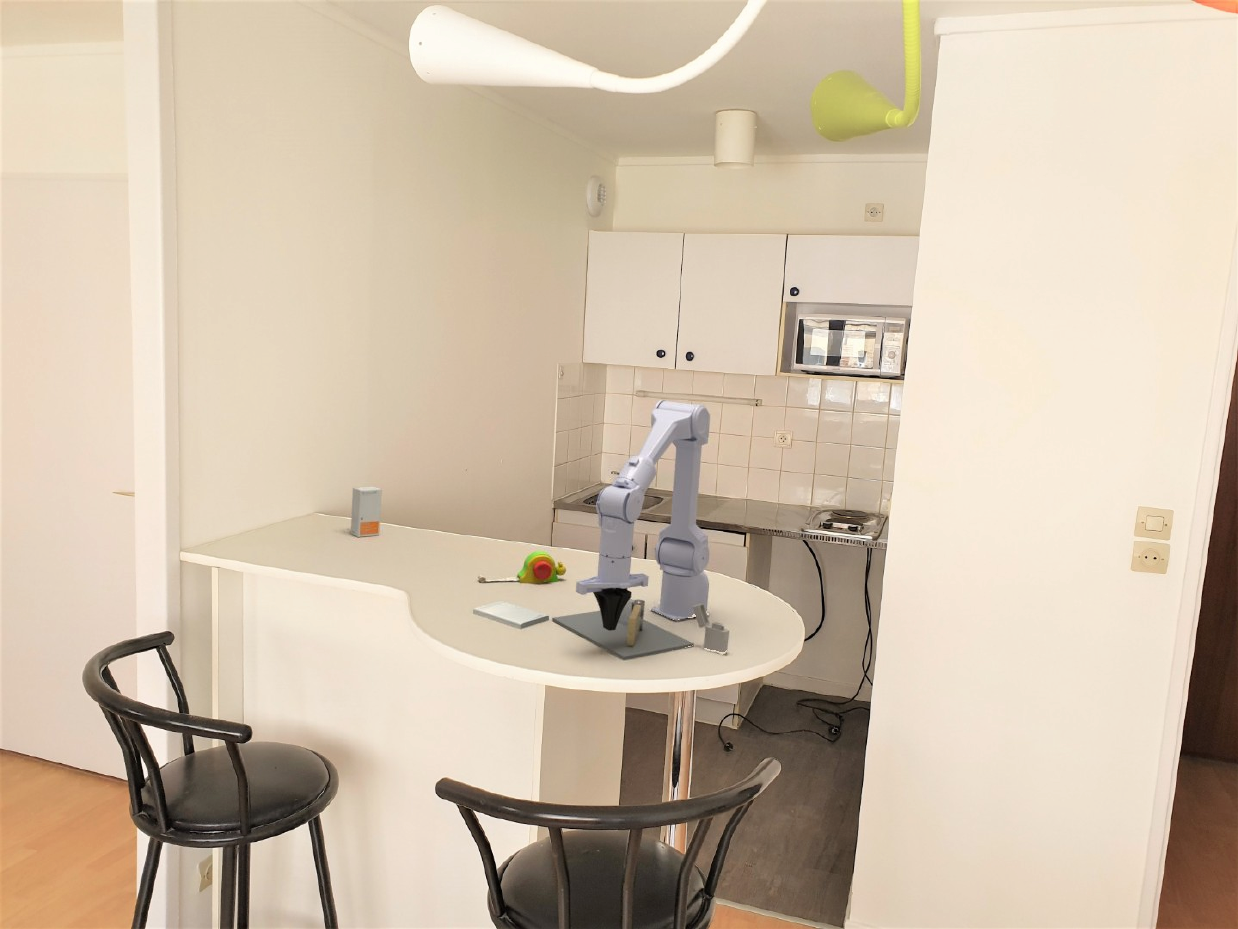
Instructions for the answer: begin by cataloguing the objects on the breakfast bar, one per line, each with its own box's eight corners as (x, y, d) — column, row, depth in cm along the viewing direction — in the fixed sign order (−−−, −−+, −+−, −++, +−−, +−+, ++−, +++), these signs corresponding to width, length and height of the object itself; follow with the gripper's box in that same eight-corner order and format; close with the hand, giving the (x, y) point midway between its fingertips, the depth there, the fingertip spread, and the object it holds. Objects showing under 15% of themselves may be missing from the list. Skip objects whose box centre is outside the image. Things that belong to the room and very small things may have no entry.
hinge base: (618, 610, 189) (620, 583, 188) (693, 646, 171) (695, 617, 170) (552, 620, 180) (554, 592, 179) (623, 660, 162) (626, 629, 161)
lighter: (727, 652, 169) (731, 610, 168) (722, 655, 168) (726, 612, 167) (694, 642, 173) (697, 601, 172) (689, 645, 172) (693, 603, 171)
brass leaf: (632, 626, 177) (634, 599, 177) (643, 627, 177) (645, 600, 176) (624, 644, 167) (626, 616, 166) (635, 646, 166) (638, 617, 166)
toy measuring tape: (568, 584, 206) (570, 555, 205) (481, 586, 199) (482, 556, 198) (561, 576, 212) (563, 548, 211) (476, 577, 205) (477, 548, 204)
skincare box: (357, 537, 232) (359, 490, 230) (350, 534, 235) (351, 487, 233) (380, 535, 236) (382, 489, 234) (372, 531, 239) (374, 486, 237)
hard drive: (549, 615, 180) (502, 599, 187) (520, 624, 173) (473, 607, 180) (548, 623, 180) (501, 607, 187) (520, 632, 174) (472, 615, 181)
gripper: (594, 563, 157) (588, 641, 159) (661, 556, 165) (655, 630, 167) (571, 553, 162) (566, 628, 164) (637, 547, 171) (631, 618, 173)
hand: (609, 628), depth 166 cm, fingers closed
